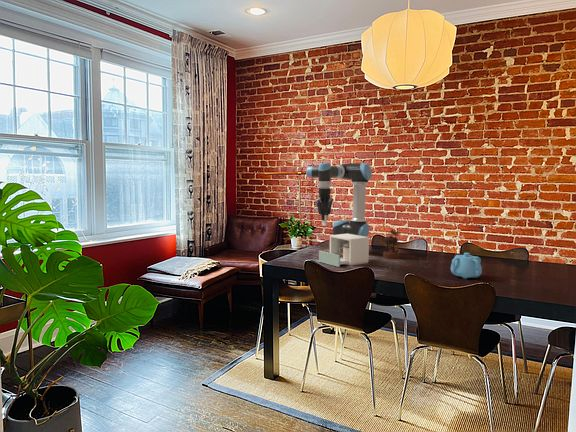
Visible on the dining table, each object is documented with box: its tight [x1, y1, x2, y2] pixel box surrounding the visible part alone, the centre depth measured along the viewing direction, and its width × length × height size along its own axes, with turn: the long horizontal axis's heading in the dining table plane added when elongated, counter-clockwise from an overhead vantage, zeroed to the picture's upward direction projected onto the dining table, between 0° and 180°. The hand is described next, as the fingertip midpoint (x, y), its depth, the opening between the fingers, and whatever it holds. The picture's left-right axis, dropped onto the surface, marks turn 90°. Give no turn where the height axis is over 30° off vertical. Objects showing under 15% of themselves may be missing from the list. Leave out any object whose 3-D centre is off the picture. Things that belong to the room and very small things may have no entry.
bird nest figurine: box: [379, 228, 401, 260], centre depth 296 cm, size 15×11×20 cm
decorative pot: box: [450, 252, 483, 280], centre depth 243 cm, size 16×16×14 cm
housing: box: [329, 234, 370, 267], centre depth 282 cm, size 20×16×17 cm
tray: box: [318, 250, 349, 268], centre depth 279 cm, size 19×24×7 cm
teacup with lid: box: [339, 241, 350, 260], centre depth 281 cm, size 12×9×12 cm
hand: (324, 225), depth 271 cm, fingers closed
